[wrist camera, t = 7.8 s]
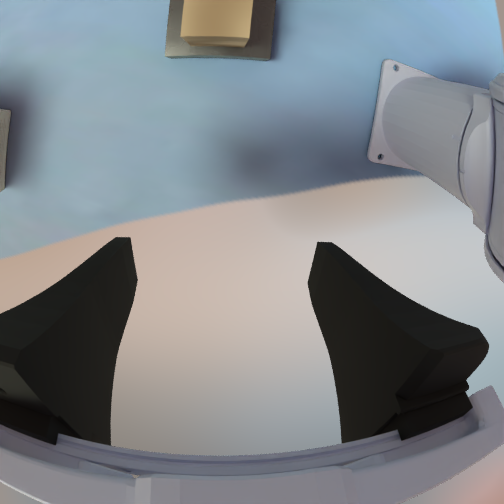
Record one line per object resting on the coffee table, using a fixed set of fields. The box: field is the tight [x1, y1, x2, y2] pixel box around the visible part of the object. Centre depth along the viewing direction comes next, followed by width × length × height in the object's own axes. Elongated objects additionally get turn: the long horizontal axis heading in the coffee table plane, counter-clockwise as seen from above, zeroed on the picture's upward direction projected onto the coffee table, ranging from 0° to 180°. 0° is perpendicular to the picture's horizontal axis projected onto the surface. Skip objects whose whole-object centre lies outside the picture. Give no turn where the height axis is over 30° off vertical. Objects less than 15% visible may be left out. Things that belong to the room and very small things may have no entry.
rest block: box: [165, 0, 276, 61], centre depth 13 cm, size 6×4×2 cm, turn 85°
